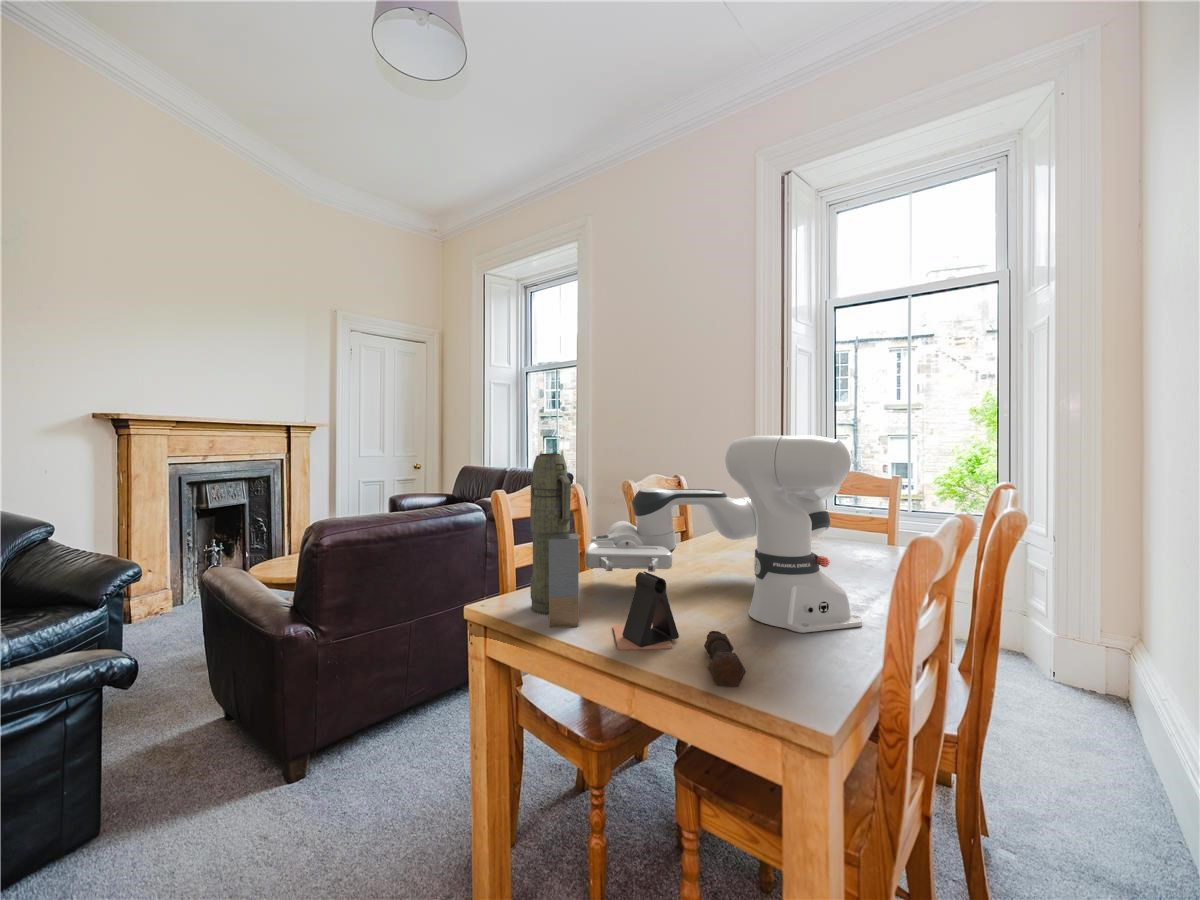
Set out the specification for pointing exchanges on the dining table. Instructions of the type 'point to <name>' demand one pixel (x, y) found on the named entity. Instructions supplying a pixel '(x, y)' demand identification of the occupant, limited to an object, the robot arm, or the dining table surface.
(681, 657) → the dining table surface
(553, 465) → the thermos
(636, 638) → the black folding stand
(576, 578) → the rectangular metal block
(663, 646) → the terracotta tile
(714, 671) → the bolt
